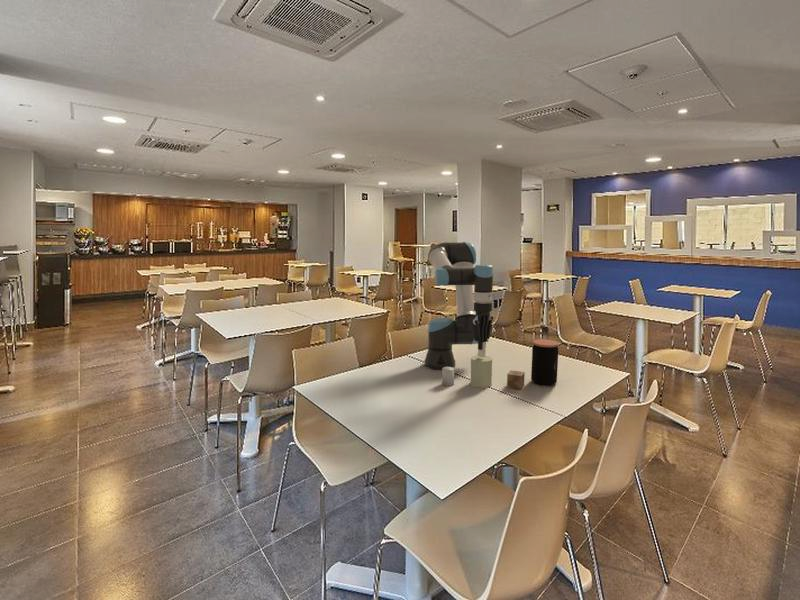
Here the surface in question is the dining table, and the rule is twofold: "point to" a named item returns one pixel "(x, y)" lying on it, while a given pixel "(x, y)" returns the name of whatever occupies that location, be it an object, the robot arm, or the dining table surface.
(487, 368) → the can
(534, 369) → the coffee jar
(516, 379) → the walnut block
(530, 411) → the dining table surface
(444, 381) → the grey cylinder
